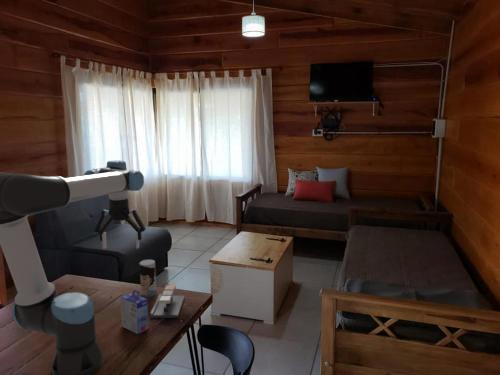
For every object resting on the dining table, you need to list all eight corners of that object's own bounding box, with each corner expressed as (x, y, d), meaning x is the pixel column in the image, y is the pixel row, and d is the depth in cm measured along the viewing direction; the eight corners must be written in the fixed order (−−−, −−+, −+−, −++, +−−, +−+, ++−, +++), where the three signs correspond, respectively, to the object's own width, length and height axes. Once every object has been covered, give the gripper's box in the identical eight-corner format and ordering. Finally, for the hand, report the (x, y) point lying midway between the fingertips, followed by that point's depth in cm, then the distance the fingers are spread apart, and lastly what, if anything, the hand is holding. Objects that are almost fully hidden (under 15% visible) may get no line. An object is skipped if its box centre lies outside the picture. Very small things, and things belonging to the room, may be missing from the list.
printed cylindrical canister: (142, 290, 177) (140, 260, 174) (156, 289, 178) (155, 259, 176) (140, 297, 171) (138, 265, 168) (156, 296, 172) (154, 264, 169)
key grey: (171, 297, 158) (171, 294, 158) (162, 297, 158) (161, 294, 158) (173, 293, 162) (173, 290, 162) (164, 293, 162) (163, 290, 162)
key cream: (169, 303, 154) (169, 300, 153) (159, 303, 153) (159, 300, 153) (171, 298, 157) (171, 295, 157) (161, 299, 157) (161, 295, 157)
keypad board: (177, 317, 153) (177, 312, 153) (150, 317, 153) (150, 312, 152) (184, 298, 170) (184, 292, 169) (159, 298, 170) (159, 293, 169)
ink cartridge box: (149, 328, 145) (148, 293, 143) (138, 335, 141) (135, 298, 138) (133, 320, 151) (131, 286, 148) (121, 326, 147) (119, 291, 144)
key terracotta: (173, 292, 163) (173, 289, 163) (164, 292, 163) (164, 289, 163) (175, 288, 167) (175, 285, 167) (166, 288, 167) (166, 285, 167)
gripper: (151, 196, 161) (153, 244, 165) (90, 196, 159) (94, 245, 163) (147, 199, 154) (149, 250, 157) (84, 200, 152) (87, 251, 156)
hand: (121, 247), depth 160 cm, fingers open, 13 cm apart
